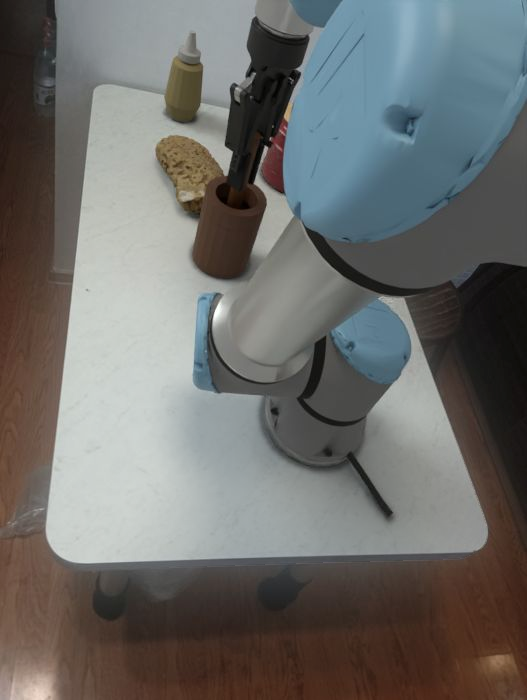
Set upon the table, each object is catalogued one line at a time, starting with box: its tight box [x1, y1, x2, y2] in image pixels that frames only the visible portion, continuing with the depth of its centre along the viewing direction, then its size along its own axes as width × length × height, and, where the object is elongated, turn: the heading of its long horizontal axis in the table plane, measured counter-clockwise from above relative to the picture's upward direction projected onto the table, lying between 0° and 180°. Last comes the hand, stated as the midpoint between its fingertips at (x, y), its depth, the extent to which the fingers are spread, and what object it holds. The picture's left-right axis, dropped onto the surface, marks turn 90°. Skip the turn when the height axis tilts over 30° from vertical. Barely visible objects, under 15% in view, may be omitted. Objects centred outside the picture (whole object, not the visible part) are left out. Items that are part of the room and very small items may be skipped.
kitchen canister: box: [261, 102, 294, 194], centre depth 111 cm, size 13×13×18 cm
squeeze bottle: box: [163, 30, 204, 123], centre depth 115 cm, size 8×8×18 cm
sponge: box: [154, 134, 225, 214], centre depth 104 cm, size 13×8×20 cm
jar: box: [191, 175, 268, 279], centre depth 92 cm, size 10×10×14 cm
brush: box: [226, 131, 261, 210], centre depth 86 cm, size 4×4×22 cm
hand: (240, 182), depth 84 cm, fingers closed on brush, 2 cm apart
